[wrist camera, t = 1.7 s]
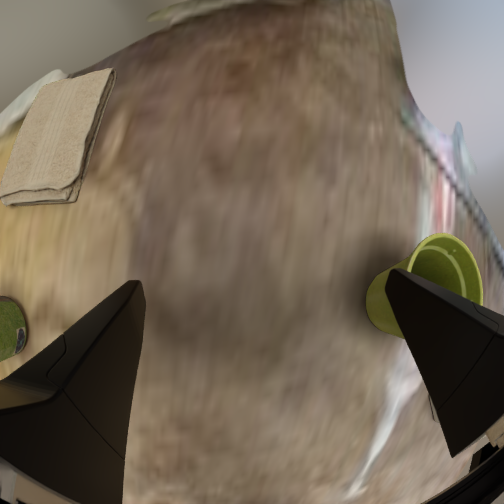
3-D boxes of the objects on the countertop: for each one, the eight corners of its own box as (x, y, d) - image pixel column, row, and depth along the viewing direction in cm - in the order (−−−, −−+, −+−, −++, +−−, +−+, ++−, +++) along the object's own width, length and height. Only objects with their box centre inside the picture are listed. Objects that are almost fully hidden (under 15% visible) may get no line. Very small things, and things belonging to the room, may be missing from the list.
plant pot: (353, 358, 23) (410, 376, 15) (342, 258, 25) (395, 235, 17) (426, 336, 25) (485, 339, 16) (416, 250, 26) (473, 230, 18)
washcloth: (5, 213, 22) (-10, 204, 19) (46, 92, 26) (38, 79, 23) (85, 206, 24) (71, 195, 21) (119, 76, 27) (114, 60, 24)
